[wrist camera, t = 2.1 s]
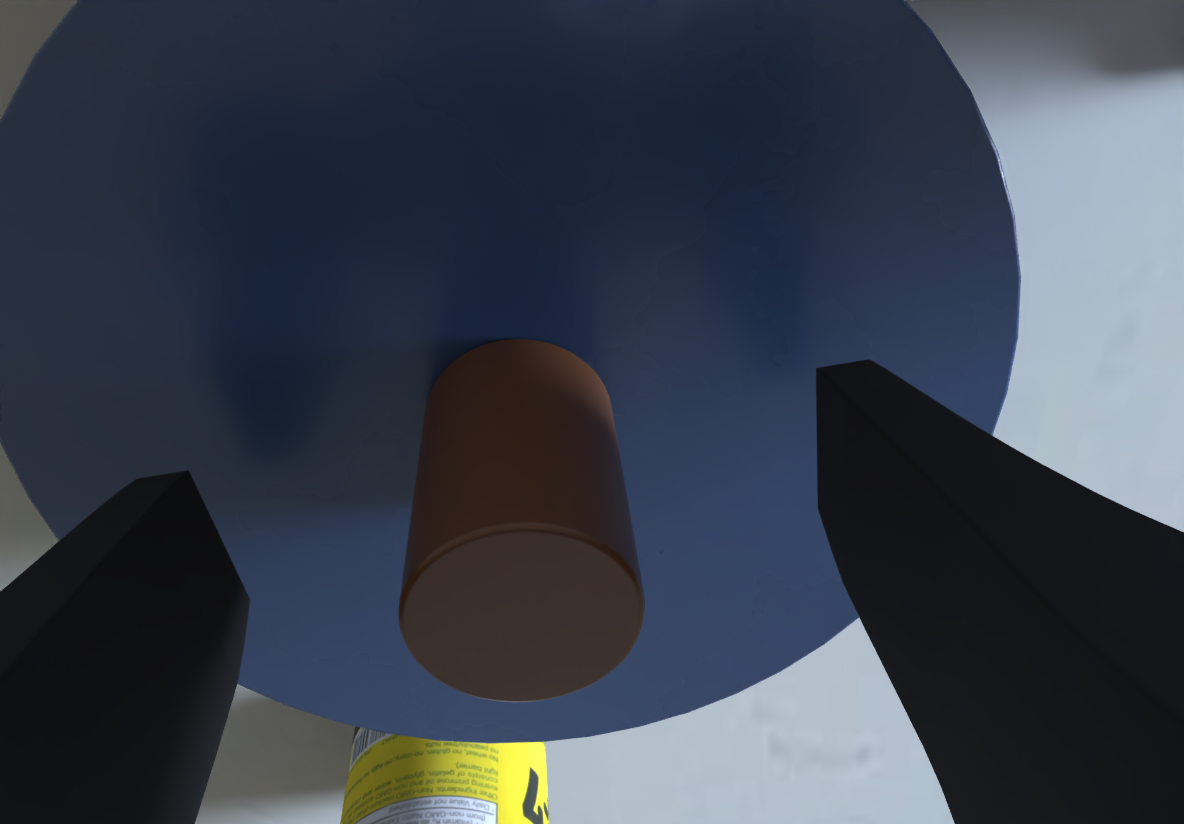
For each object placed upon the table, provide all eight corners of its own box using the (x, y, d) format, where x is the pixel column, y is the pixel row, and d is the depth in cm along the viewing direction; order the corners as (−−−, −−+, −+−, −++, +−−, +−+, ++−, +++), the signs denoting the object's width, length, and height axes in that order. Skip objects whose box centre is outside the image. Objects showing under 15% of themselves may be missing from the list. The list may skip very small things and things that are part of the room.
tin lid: (1039, -281, 9) (1426, -342, 5) (950, 628, 16) (1090, 887, 13) (-230, -63, 10) (-741, 32, 6) (225, 742, 17) (138, 1032, 13)
